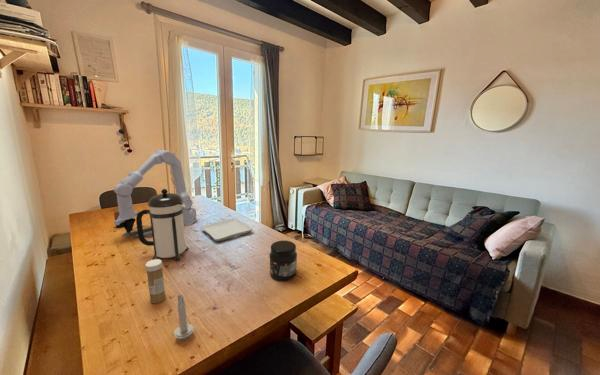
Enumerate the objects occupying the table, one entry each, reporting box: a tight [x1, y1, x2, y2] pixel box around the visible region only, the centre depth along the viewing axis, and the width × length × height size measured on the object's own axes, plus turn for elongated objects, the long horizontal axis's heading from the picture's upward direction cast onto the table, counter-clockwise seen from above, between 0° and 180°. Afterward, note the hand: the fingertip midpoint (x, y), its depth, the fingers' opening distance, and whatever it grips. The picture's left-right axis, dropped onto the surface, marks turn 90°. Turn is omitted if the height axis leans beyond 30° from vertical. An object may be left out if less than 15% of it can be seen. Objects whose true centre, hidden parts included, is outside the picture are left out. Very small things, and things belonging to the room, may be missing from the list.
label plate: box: [121, 225, 153, 239], centre depth 133 cm, size 15×13×1 cm
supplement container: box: [269, 240, 298, 282], centre depth 96 cm, size 10×10×12 cm
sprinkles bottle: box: [144, 258, 167, 304], centre depth 80 cm, size 5×5×14 cm
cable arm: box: [126, 225, 152, 238], centre depth 128 cm, size 14×4×4 cm, turn 141°
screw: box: [173, 294, 195, 342], centre depth 66 cm, size 13×5×5 cm
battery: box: [113, 209, 124, 229], centre depth 139 cm, size 4×7×10 cm, turn 130°
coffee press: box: [135, 188, 189, 262], centre depth 106 cm, size 17×16×30 cm
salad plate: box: [200, 217, 254, 242], centre depth 135 cm, size 21×21×3 cm
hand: (129, 233), depth 126 cm, fingers closed
